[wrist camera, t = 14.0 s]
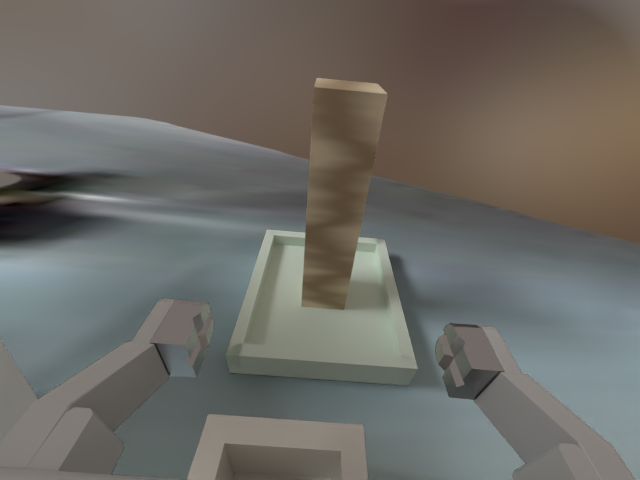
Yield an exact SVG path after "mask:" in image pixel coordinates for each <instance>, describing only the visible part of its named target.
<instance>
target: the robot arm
mask: <svg viewBox="0 0 640 480" xmlns="http://www.w3.org/2000/svg"><path fill="white" fill-rule="evenodd" d="M210 311H211V308H210V305H209V303H202V302H193V301H184V300H175V299H164V298H162V299H160V300H159V301H158V302H157V303H156V304H155V306H154V308H153V309H152V311H151V312H150V314H149V315H148V317H147V318H146V320H145V321H144V323H143V324H142V326H141V327H140V329H139V330H138V332H137V333H136V335H135V337H134V338H133V340H132V341H131V342H125V343H123V344H122V345H120V346H119V347H117V348H116V349H114V350H113V351H111V352H109V353H108V354H106V355H105V356H103V357H102V358H100V359H99V360H97V361H96V362H94V363H93V364H91V365H90V366H88V367H87V368H85V369H83V370H82V371H80V372H79V373H77V374H76V375H74V376H73V377H71V378H70V379H68V380H67V381H65V382H64V383H62V384H61V385H59V386H58V387H56V388H54V389H53V390H51V391H50V392H48V393H47V394H45V395H44V396H42V397H41V398H39V399H38V400H36V401H35V402H33V404H32V405H31V406H30V407H29V408H28V410H27V411H26V412H25V413H24V415H23V416H22V417H21V418H20V419H19V421H18V422H17V423H16V424H15V426H14V427H13V428H12V429H11V431H10V432H9V433H8V434H7V435H6V437H5V438H4V439H3V440H2V442H1V443H0V480H185V479H171V478H156V477H141V476H126V475H112V473H113V471H114V468H115V466H116V464H117V462H118V460H119V458H120V456H121V454H122V452H123V450H124V445H123V442H122V441H121V440H120V439H119V438H118V437H117V436H116V435H115V434H114V433H113V431H114V430H116V429H117V428H118V427H119V426H120V425H121V424H122V423H123V422H124V421H125V420H126V419H127V418H128V417H129V416H130V415H131V414H132V413H133V412H134V411H135V410H136V409H137V408H138V407H140V406H141V405H142V404H143V403H144V402H145V401H146V400H147V399H148V398H149V397H150V396H151V395H152V394H153V393H154V392H155V391H156V390H157V389H158V388H159V387H160V386H161V385H162V384H164V383H165V382H166V381H167V380H168V379H169V376H177V377H197V374H198V372H199V369H200V367H201V364H202V362H203V359H204V356H203V353H202V351H203V350H204V349H205V348H207V347H208V346H209V344H210V341H211V339H212V334H213V330H214V322H213V318H212V317H211V316H210V315H209V313H210ZM443 330H444V332H445V334H444V335H442V336H440V337H439V338H438V340H437V342H436V347H435V353H436V359H437V362H438V365H439V366H440V367H441V368H442V369H443V370H444V371H445V372H444V374H443V377H442V378H443V381H444V384H445V387H446V390H447V393H448V396H449V397H452V398H461V399H470V400H475V401H474V402H475V403H476V404H477V405H478V407H479V408H480V409H481V410H482V412H483V413H484V414H485V415H486V416H487V418H488V419H489V420H490V421H491V422H492V424H493V425H494V426H495V427H496V429H497V430H498V431H499V432H500V433H501V435H502V436H503V437H504V438H505V439H506V441H507V442H508V443H509V444H510V446H511V447H512V448H513V449H514V450H515V452H516V453H517V454H518V455H519V456H520V458H521V459H522V460H523V461H524V463H525V464H524V465H523V466H521V467H519V468H518V469H516V470H514V472H513V474H512V476H513V479H514V480H635V478H634V477H633V475H632V474H631V472H630V471H629V469H628V468H627V466H626V465H625V464H624V462H623V461H622V459H621V458H620V456H619V455H618V453H617V452H616V450H615V449H614V447H613V446H612V445H611V444H610V443H608V442H607V441H606V440H605V439H604V438H602V437H601V436H600V435H599V434H598V433H596V432H595V431H594V430H593V429H592V428H591V427H589V426H588V425H587V424H586V423H585V422H583V421H582V420H581V419H580V418H579V417H577V416H576V415H575V414H574V413H573V412H571V411H570V410H569V409H568V408H567V407H565V406H564V405H563V404H562V403H561V402H560V401H558V400H557V399H556V398H555V397H554V396H552V395H551V394H550V393H549V392H548V391H546V390H545V389H544V388H543V387H542V386H540V385H539V384H538V383H537V382H536V381H534V380H533V379H532V378H531V377H530V376H529V375H527V374H522V372H521V370H520V369H519V367H518V365H517V363H516V362H515V360H514V358H513V356H512V355H511V353H510V351H509V349H508V348H507V346H506V344H505V342H504V341H503V339H502V337H501V335H500V334H499V332H498V330H497V329H496V328H494V327H489V326H477V325H468V324H453V323H449V324H447V325H446V326H445V328H444V329H443Z"/></svg>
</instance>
